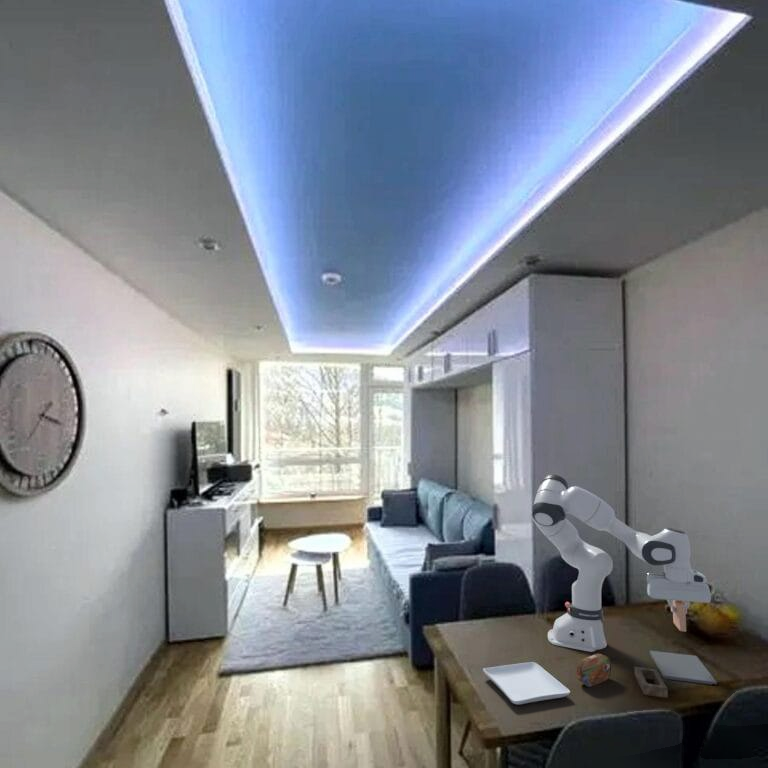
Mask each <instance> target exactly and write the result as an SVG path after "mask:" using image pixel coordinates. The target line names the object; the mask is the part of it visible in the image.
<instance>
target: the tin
mask: <svg viewBox="0 0 768 768" xmlns="http://www.w3.org/2000/svg"><path fill="white" fill-rule="evenodd" d="M576 667H577V668H576V673H577V680H578V681H579V682H580V684H582V685H584V686H586V687H589V688H591V687H594V686H596V685H599V684H601V683H605V682H606V681H607V680H609V677H610V676H611V671H612V662H611V660H610V657H608V656H607V655H604V654H602V653H595V654H592V655H590V656H587V657H584V658H582V659H580V660H579V662H578V663H577V666H576Z"/></svg>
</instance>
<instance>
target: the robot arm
mask: <svg viewBox="0 0 768 768" xmlns="http://www.w3.org/2000/svg"><path fill="white" fill-rule="evenodd" d="M567 514H568V515H572V516H574V517H575V518H576V519H578V520H580V521H581V522H582V523H584V524H585V525H587V526H589V527H591V528H593V529H595V530H597V531H600V532H602V531H605V532H607V533H609V534H611V535H612V536H613V537H615V538H617V539H618V540H619V541H621V542H622V543H623V544H624V545H625V547H626V549H627V550H628V551H629V553H630V554H632V556H634V557H636V558H639V559H640V560H642V561H643V562H645V563H647V564H648V565H650V566H651V565H652V566H663V572H660V571H659V572H658V571H657V572H655V571H650V572H648V573H647V575H646V582H647V589H646V590H647V591H646V593H647V596H649V597H650V598H651V599H656V600H666V601H667V603H668V605H669V606H670V611H671V613H673V612H676V613H677V611H676V610H677V608H676V607H675V606H673V600H678V601H681V602H684V605H685V613H686V615H687V614H688V609H689V607H690V605H691V602H693V603H702V604H703V603H704V604H705V603H706V604H709V603H710V602H711V600H712V598H711V597H712V596H711V590H710V587H709V585H708V584H707V577H706V576H705V575H704V574H703V573H702V572H699V571H697V570H695V569H693V568H692V565H691V563H690V560H691V559H690V558H691V544H690V539H689V536H688V534H687V533H686V532H685V531H683V530H680V529H677V528H672V527H665V528H664V529H663V530H661V532H659V533H657V534H654V535H650V534H649V533H647V532H645V531H642V530H638V529H633V528H632V527H630V526H629V525H627V524H626V523H624V522H623V521H622V520H620V519H618V518H617V517H616V513H615V510H614V509H613V508H612V507H611V506H610V504H608V503H607V502H606V501H605V500H603V499H602V498H600V497H599V496H597V495H595V494H594V493H592V492H590V491H588V490H587V489H585V488H582V487H580V486H576V485H574V486H570V487H569V484H568V482H567V480H566V479H565V478H564V477H562V476H560V475H558V474H548V475H546V476H545V477H544V478H543V479H542V480H541V482H540V485H539V487H538V489H537V491H536V494H535V497H534V503H533V505H532V509H531V512H530V517H531V519H532V521H533V523H534V524H535V525H536V527H537V528H538V529H539V530H540V531H541V532H542V534H543V535H544V536H545V538H547V539H548V540H549V541H550V542H551V543H552V544H553V545H554V546H555V547H556V549H557V550H558V551H559V553H560V556H561V558H562V560H564V562H565V563H567V564H568V565H569V566H571V567H572V568H575V569H577V570H578V576H577V580H575V581H574V582H573V583H572V585H571V603H570V602H569V601H566V602H565V603H564V606H565V608H566V613H564V614H563V615H561V616H559V617H557V618H556V619H555V621H554V623H553V628H552V629H549V630H548V632H547V641H549V643H551V644H552V645H553V646H554V645H555V646H558V647H564V648H569V649H575V650H580V651H584V652H590V653H592V652H593V653H594V652H595V651H598V650H602V649H605V648H606V647H607V646H608V643H607V640H606V637H605V633H604V627H603V622H604V611H603V608H602V588H603V584H604V581H605V579H606V577H608V575H610V574H611V573H612V570H613V567H614V563H613V558H612V556H610V554H608V552H606V551H605V550H603V549H601V548H599V547H596V546H594V545H592V544H589V543H587V542H586V541H584V540H583V539H582V538H581V537H580V534H579V531H578V529H577V528H576V527H575V526H574V524H572V522H570V521H569V520H568V518H566V515H567Z"/></svg>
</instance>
